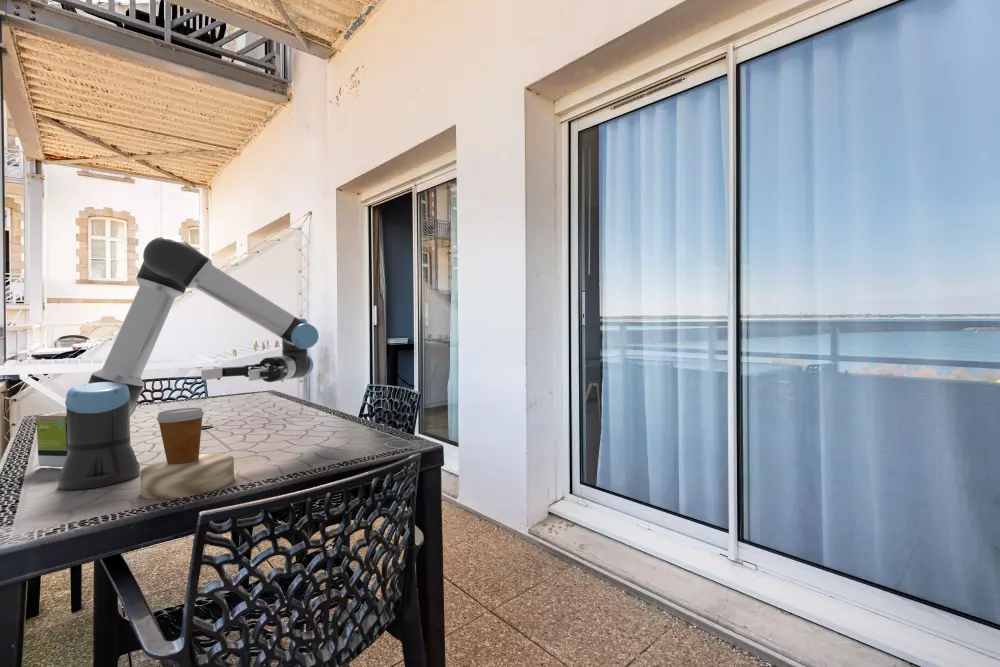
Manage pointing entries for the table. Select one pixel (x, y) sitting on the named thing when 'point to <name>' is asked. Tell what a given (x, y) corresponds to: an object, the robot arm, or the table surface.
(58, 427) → the tea box
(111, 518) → the table surface
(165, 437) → the disposable coffee cup
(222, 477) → the wooden plinth
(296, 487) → the table surface
